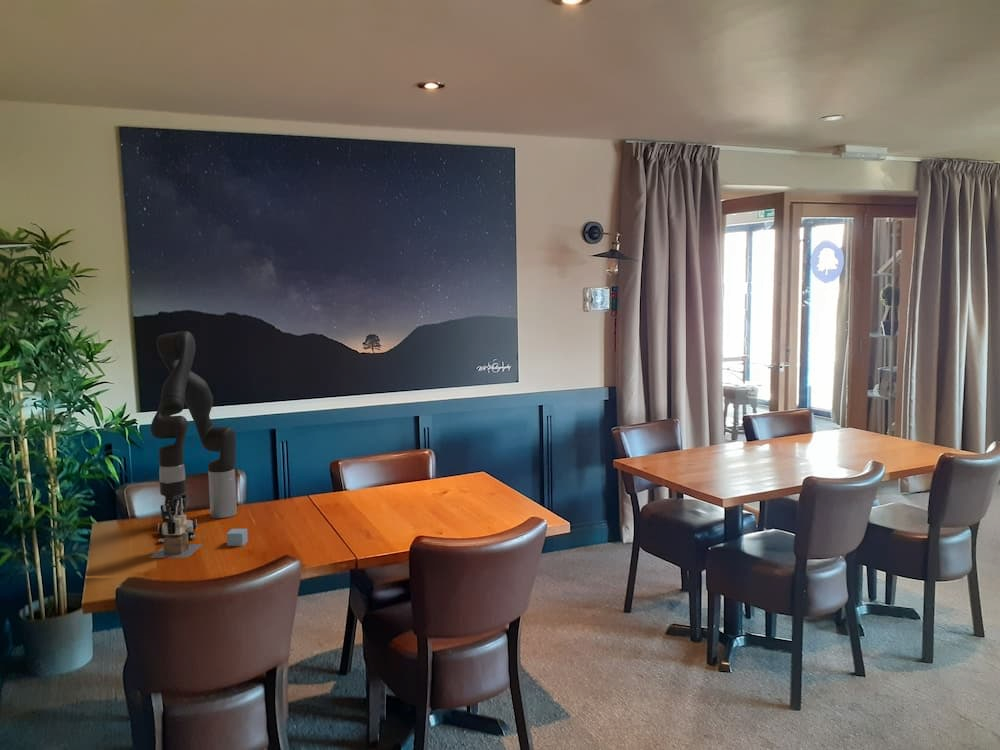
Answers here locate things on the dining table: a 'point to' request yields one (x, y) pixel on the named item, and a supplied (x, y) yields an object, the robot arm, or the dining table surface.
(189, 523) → the robot toy
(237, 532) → the blue block
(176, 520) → the beech block
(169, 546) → the walnut block
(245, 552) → the dining table surface
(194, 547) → the slate pad
